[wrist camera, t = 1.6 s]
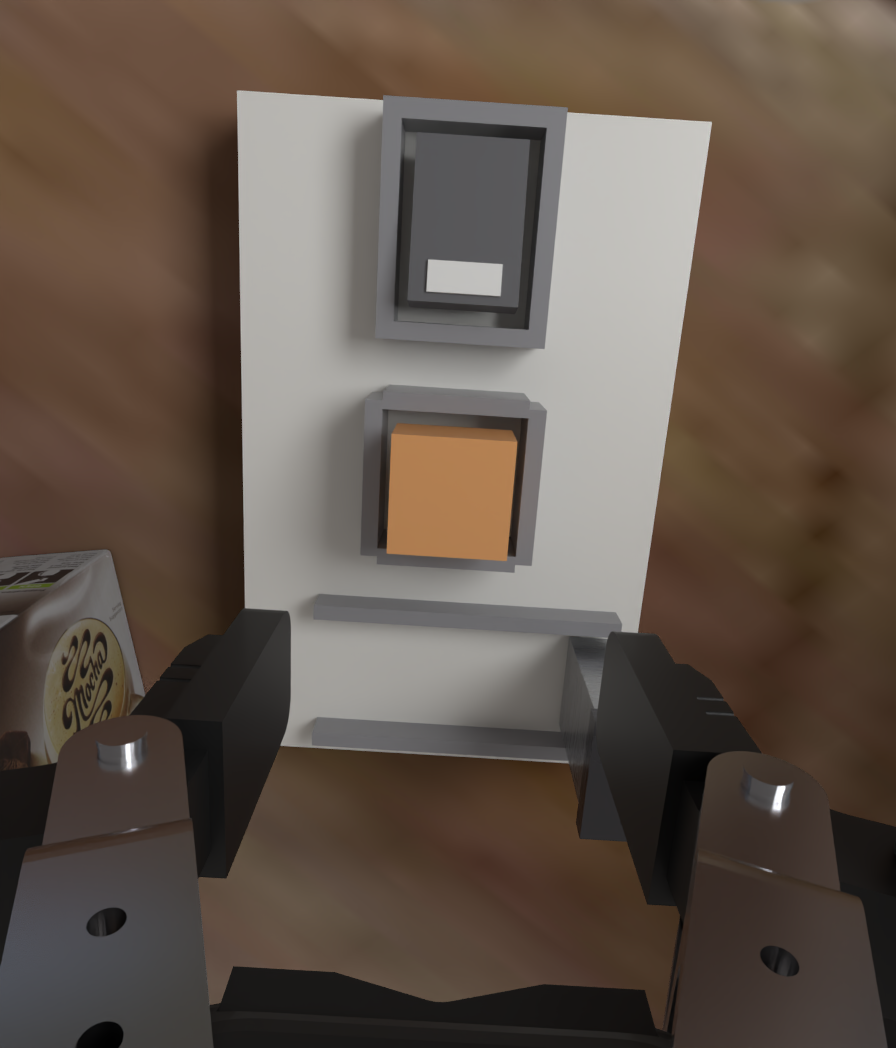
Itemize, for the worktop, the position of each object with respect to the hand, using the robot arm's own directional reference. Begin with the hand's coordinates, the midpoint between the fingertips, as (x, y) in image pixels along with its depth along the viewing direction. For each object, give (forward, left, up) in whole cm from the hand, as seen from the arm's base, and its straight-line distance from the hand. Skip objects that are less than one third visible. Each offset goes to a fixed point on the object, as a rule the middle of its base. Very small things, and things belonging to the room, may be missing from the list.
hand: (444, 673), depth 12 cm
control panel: (0, 0, -20) cm, 20 cm away
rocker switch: (0, -8, -15) cm, 17 cm away
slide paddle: (-6, +8, -16) cm, 19 cm away
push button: (0, 0, -14) cm, 14 cm away
